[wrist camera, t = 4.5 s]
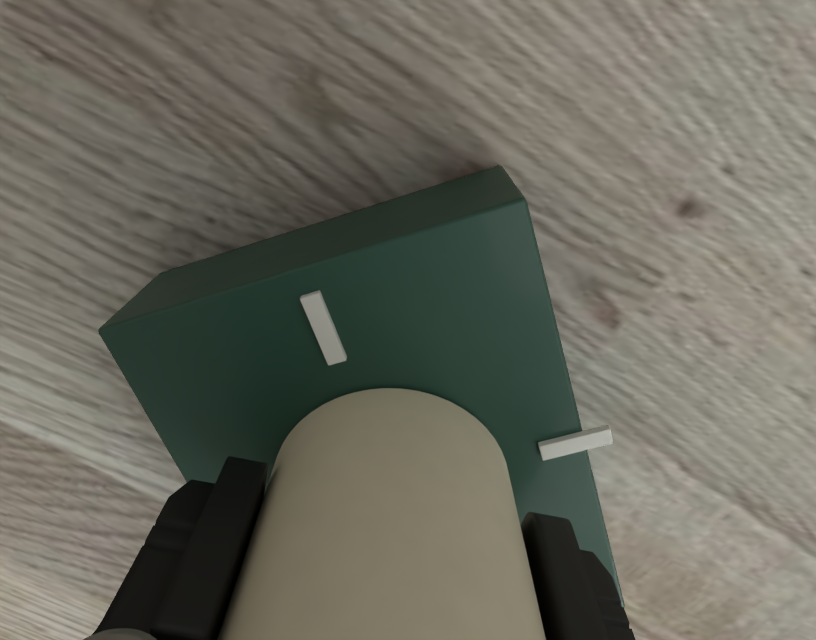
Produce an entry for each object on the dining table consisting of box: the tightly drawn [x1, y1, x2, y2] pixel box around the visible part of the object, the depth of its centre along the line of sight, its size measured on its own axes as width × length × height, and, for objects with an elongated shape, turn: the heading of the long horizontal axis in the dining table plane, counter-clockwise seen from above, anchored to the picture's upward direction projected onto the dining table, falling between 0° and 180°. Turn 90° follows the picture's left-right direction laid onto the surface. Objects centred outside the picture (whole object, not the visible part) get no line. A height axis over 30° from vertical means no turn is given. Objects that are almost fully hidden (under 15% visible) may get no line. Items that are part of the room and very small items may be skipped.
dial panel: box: [98, 166, 624, 607], centre depth 14 cm, size 10×9×3 cm
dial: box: [217, 388, 546, 640], centre depth 10 cm, size 5×5×6 cm
